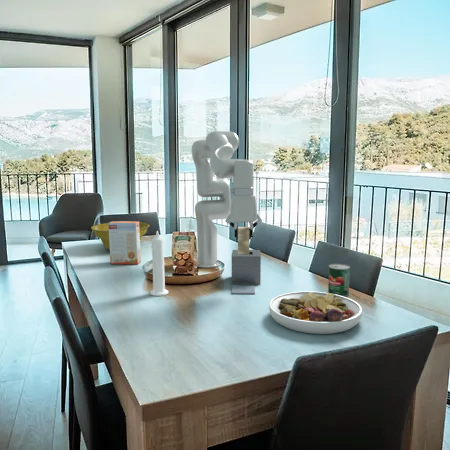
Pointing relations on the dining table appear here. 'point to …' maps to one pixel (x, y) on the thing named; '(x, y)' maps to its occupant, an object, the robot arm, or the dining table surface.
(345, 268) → the canned tomato
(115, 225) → the cracker box
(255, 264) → the post block
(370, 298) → the dining table surface
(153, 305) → the dining table surface
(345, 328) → the bowl
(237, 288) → the mat
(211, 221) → the robot arm
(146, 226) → the planter bowl
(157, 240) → the candle
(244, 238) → the peg
